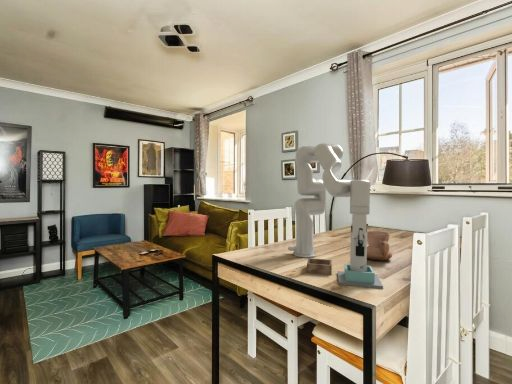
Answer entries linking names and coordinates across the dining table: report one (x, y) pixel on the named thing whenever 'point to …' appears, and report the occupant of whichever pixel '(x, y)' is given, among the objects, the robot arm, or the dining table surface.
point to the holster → (319, 266)
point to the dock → (359, 278)
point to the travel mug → (358, 261)
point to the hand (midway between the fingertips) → (358, 253)
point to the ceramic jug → (378, 245)
